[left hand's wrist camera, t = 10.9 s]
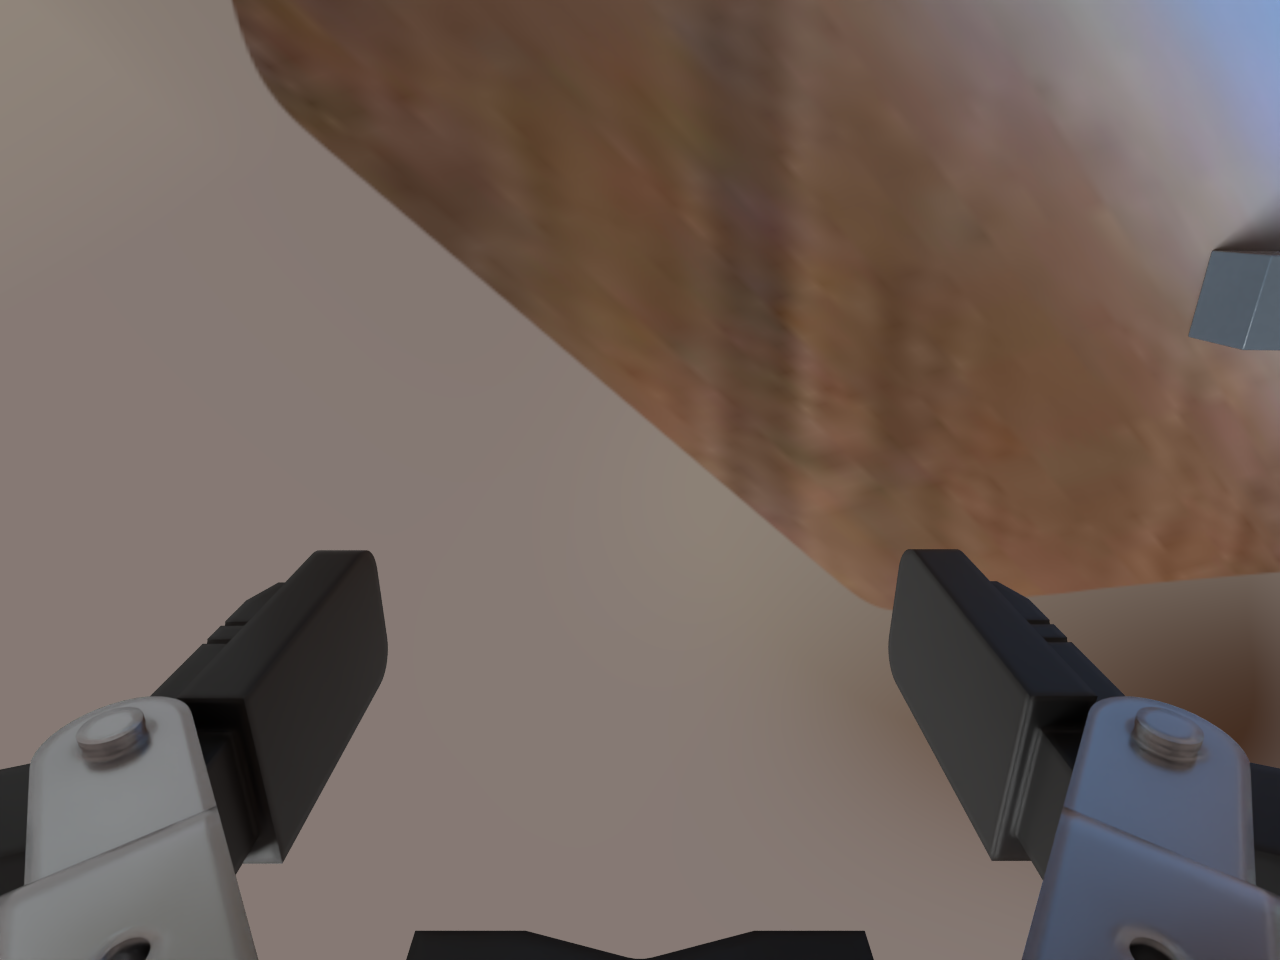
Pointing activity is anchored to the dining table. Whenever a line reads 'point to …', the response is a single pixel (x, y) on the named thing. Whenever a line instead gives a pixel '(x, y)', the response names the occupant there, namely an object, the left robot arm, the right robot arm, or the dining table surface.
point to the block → (1240, 301)
